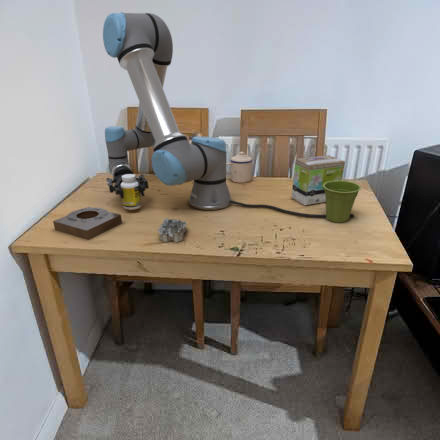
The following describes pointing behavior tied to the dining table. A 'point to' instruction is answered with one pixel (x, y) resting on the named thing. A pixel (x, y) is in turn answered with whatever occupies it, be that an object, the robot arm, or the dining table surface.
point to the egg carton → (172, 230)
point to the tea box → (315, 177)
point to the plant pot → (340, 199)
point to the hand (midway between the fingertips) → (132, 193)
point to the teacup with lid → (240, 168)
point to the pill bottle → (130, 192)
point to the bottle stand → (87, 222)
